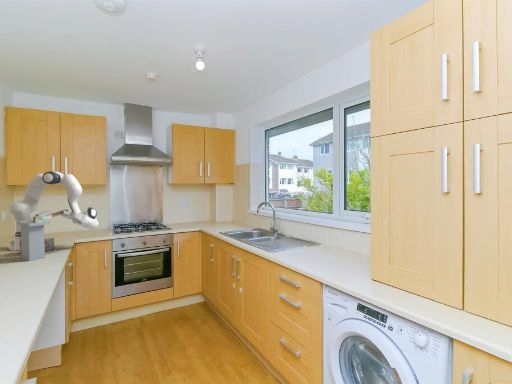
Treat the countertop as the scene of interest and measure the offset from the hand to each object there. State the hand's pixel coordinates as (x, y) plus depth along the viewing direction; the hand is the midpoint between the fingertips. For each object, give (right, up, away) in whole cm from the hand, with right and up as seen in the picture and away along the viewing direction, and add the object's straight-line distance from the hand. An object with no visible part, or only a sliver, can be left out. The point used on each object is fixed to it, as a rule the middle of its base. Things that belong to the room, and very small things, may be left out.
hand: (62, 211), depth 214 cm
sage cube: (-4, -6, -19) cm, 21 cm away
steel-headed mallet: (-3, -3, -5) cm, 7 cm away
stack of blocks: (-21, -32, +4) cm, 39 cm away
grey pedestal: (-9, -32, -15) cm, 37 cm away
